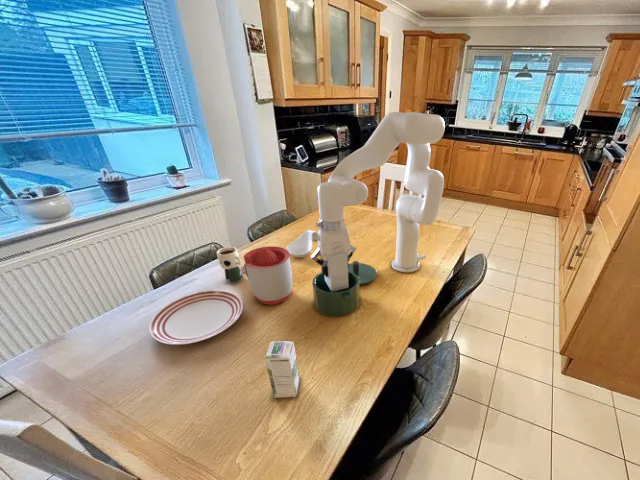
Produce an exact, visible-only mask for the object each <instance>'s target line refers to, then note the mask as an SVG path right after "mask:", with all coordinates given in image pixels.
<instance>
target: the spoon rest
mask: <svg viewBox="0 0 640 480" xmlns="http://www.w3.org/2000/svg"><path fill="white" fill-rule="evenodd" d="M313 240H314V241H318V231H316V230H311V229H307V230H305V231H304V232H303V233H302V234H301V235H300V236H298V237H297V238H295V239H294V240H293V241H292V242H290V243H289V244H288V245H287V246H286V248H285V249H286V250H287V251H288V252H289V253H290V256H291V257H294V258H304V257H306V256H309V254H310V253H311V252H312V250H313V245H314V244H313Z"/></svg>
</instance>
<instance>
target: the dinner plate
mask: <svg viewBox="0 0 640 480" xmlns="http://www.w3.org/2000/svg"><path fill="white" fill-rule="evenodd" d="M243 311H244V302H243V299H242V298H241V296H239V295H238V294H236V293H234V292H231V291H228V290H223V289H209V290H202V291H196V292H193V293H188V294H186V295H184V296H181V297H178V298H176V299H175V300H173V301H171V302H169V303H168V304H165V305H164V306H163V307H162V308H161V309H159V310H158V311H157V312H156V313H155V314H154V316H153V317H152V319H151V320H150V323H149V325H148V333H149V335H150V336H151V338H152V339H153V340H155V341H156V342H158V343H161V344H164V345H171V346H181V345H182V346H183V345H184V346H185V345H190V344H194V343H198V342H203V341H205V340H207V339H211V338H213V337H215V336H217V335H219V334H221V333H223V332H224V331H225V330H227V329H229V328H230V327H231V326H233V325H234V324H235V323H236V322H237V321H238V319H239V318H240V316H241V315H242V313H243Z"/></svg>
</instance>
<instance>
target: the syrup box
mask: <svg viewBox="0 0 640 480" xmlns="http://www.w3.org/2000/svg"><path fill="white" fill-rule="evenodd" d="M264 361H265V366H266V371H267V374H268V377H269V383H270V388H271V390H272V391H271V392H272V396H273V398H275V399H278V398H295V397H297V395H298V390H299V385H300V373H299V368H298V361H297V354H296V348H295V342H294V341H289V340H288V341H287V340H283V341H282V340H281V341H280V340H277V341H270V343H269V346H268V349H267V352H266V355H265V358H264Z"/></svg>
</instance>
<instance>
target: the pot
mask: <svg viewBox="0 0 640 480" xmlns="http://www.w3.org/2000/svg"><path fill="white" fill-rule="evenodd" d="M348 284H349V288H345V289H341V290H337V291H331V290H330V288H329V286H328V285H327V283H326V281H325V275H324V274H322V272H320V273H318V274H316V275H315V276H314V278H313V279H312V292H313V300H314V306H315V308H316V310H317V311H318V312H319V313H321V314H323V315H325V316H330V317H341V316H347V315H349V314H351V313H353V312H355V311H356V310H357V309H358V307H359V305H360V301H361V300H360V295H361V293H360V290H361V289H360V285H359V277H358V276H357V275H356V274H355V273H353V272H351V271H348Z"/></svg>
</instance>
